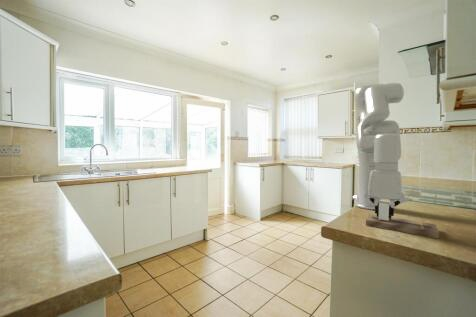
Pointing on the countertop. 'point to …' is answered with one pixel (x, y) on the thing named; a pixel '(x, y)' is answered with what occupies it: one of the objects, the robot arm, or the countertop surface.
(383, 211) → the fader tab
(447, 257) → the countertop surface
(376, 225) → the fader board
